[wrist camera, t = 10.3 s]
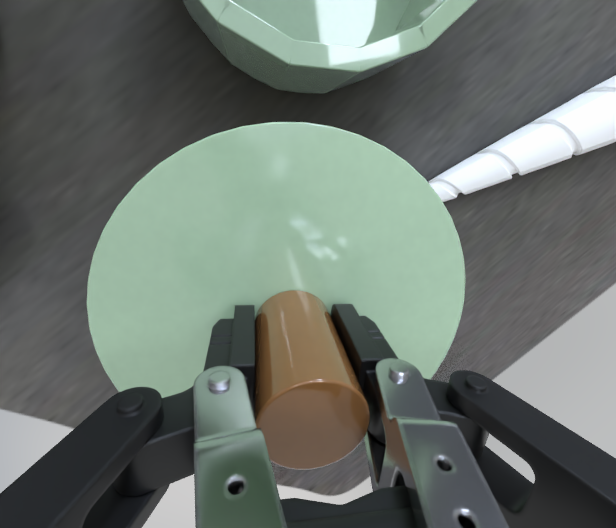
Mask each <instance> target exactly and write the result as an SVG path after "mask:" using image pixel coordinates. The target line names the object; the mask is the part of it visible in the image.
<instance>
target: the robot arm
mask: <svg viewBox="0 0 616 528" xmlns="http://www.w3.org/2000/svg"><path fill="white" fill-rule="evenodd" d="M331 318H332V321H333V323H334V325H335V328H336V330H337V332H338V335H339V337H340V339H341V342H342V344H343V346H344V349H345V351H346V353H347V356H348V358H349V361H350V363H351V365H352V368H353V370H354V372H355V375H356V377H357V379H358V382H359V384H360V386H361V389H362V391H363V393H364V396H365V398H366V400H367V403H368V405H369V409H370V423H369V427H368V430H367V433H366V435H365V437H364V439H365V445H366V452H367V458H368V464H369V470H370V477H371V483H372V489H373V492H372V493H369V494H367V495H365V496H362V497H360V498H358V499H355V500H353V501H351V502H349V503H347V504H343V505H336V504H330V503H323V502H317V501H310V500H304V499H297V498H291V499H282V500H280V497H279V494H278V490H277V485H276V482H275V478H274V474H273V470H272V466H271V462H270V458H269V454H268V450H267V446H266V442H265V438H264V435H263V432H262V429H261V428H257V427H256V423H255V418H254V392H255V311H254V305H235V311H234V318H231V319H220V320H219V321H218V322H217V323H216V324H215V325H214V326H213V328H212V333H211V337H210V342H209V347H208V352H207V356H206V361H205V366H204V370H203V372H202V373H200V374H199V375H198V376H197V377H196V379H195V381H194V384H193V386H192V387H191V388H189V389H187V390H185V391H183V392H181V393H178V394H175V395H171V396H168V397H164V398H162V397H161V395H160V393H159V392H158V391H157V390H155V389H153V388H150V387H134V388H130V389H126V390H124V391H121V392H119V393H117V394H115V395H114V396H112V397H111V398H110V399H108V400H107V401H106V402H105V403H104V404H103V405H101V406H100V407H99V408H98V409H97V410H96V411H94V412H93V413H92V414H91V415H90V416H89V417H88V418H86V419H85V420H84V421H83V422H82V423H81V424H80V425H78V426H77V427H76V428H75V429H74V430H73V431H72V432H70V433H69V434H68V435H67V436H66V437H65V438H64V439H62V440H61V441H60V442H59V443H58V444H57V445H56V446H54V447H53V448H52V449H51V450H50V451H49V452H48V453H46V454H45V455H44V456H43V457H42V458H41V459H40V460H38V461H37V462H36V463H35V464H34V465H33V466H31V467H30V468H29V469H28V470H27V471H26V472H25V473H24V474H22V475H21V476H20V477H19V478H18V479H17V480H15V481H14V482H13V483H12V484H11V485H10V486H9V487H7V488H6V489H5V490H4V491H3V492H2V493H0V528H142V526H143V525H144V524H145V522H146V521H147V519H148V518H149V516H150V515H151V513H152V512H153V510H154V509H155V507H156V506H157V504H158V503H159V501H160V499H161V498H162V497H163V495H164V494H165V492H166V491H167V489H168V487H169V484H170V483H173V482H175V481H178V480H180V479H182V478H185V477H188V476H190V475H193V474H195V475H194V477H195V517H196V518H195V519H196V528H616V458H614V457H612V456H611V455H609V454H608V453H606V452H604V451H603V450H601V449H600V448H598V447H596V446H595V445H593V444H592V443H590V442H589V441H587V440H585V439H584V438H582V437H580V436H579V435H577V434H576V433H574V432H573V431H571V430H569V429H568V428H566V427H565V426H563V425H561V424H560V423H558V422H557V421H555V420H553V419H552V418H550V417H549V416H547V415H546V414H544V413H542V412H541V411H539V410H538V409H536V408H534V407H533V406H531V405H530V404H528V403H526V402H525V401H523V400H522V399H520V398H519V397H517V396H515V395H514V394H512V393H511V392H509V391H507V390H506V389H504V388H503V387H501V386H499V385H498V384H496V383H495V382H493V381H492V380H490V379H488V378H487V377H485V376H483V375H481V374H478V373H475V372H472V371H464V370H462V371H456V372H454V373H452V375H451V376H450V380H449V383H446V382H441V381H435V380H430V379H425V378H423V377H422V374H421V373H420V371H419V370H418V369H417V368H416V367H415V366H414V365H412V364H411V363H409V362H407V361H404V360H401V359H398V357H397V356H396V354H395V353H394V351H393V350H392V348H391V347H390V345H389V343H388V342H387V340H386V339H384V336H383V334H382V333H381V332H380V330H379V328H378V327H377V325H376V323H375V322H373V321H372V320H371V319H369V318H368V317H366V316H359V314H358V313H357V311H356V309H355V308H354V306H353V304H333V305H332V309H331ZM489 433H490V434H491V435H492V436H494V437H495V438H496V439H498V440H499V441H500V442H502V443H503V444H504V445H506V446H507V447H508V448H510V449H511V450H512V451H513V452H515V453H516V454H517V455H519V456H520V457H521V458H523V459H524V460H525V461H526V462H527V463H528V464H529V465H530V466H531V468H532V470H533V472H534V474H535V483H534V484H533V483H531V482H530V481H529V480H527V479H526V478H525V477H524V476H522V475H521V474H520V473H519V472H518V471H516V470H515V469H514V468H513V467H511V466H510V465H509V464H508V463H506V462H505V461H504V460H502V459H501V458H500V457H499V456H498V455H496V454H495V453H494V452H492V451H491V450H490V449H489V448H487V447H486V446H485V444H486V441H487V438H488V435H489Z"/></svg>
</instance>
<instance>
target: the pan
mask: <svg viewBox="0 0 616 528" xmlns="http://www.w3.org/2000/svg"><path fill="white" fill-rule="evenodd" d="M476 1H477V0H183V2H184V4H185V6H186V8H187V10H188V12H189V13H190V15H191V17H192V18H193V19H194V21H195V22H196V23H197V24H198V25H199V27H200V28H201V29H202V30H203V31H204V33H205V34H206V35H207V37H208V38H209V39H210V41H211V42H212V43H213V44H214V45H215V46H216V48H217V49H218V50H219V51H220V52H221V53H222V54H223V55H224V57H225V58H226V59H227V60H228V61H229V63H231V64H232V65H234V66H236V67H238V68H239V69H241V70H242V71H244V72H245V73H247V74H248V75H250V76H251V77H253V78H255V79H257V80H259V81H261V82H263V83H265V84H267V85H269V86H271V87H273V88H275V89H277V90H286V91H292V92H298V93H320V94H324V93H328V92H331V91H333V90H336V89H339V88H342V87H345V86H347V85H350V84H352V83H355V82H358V81H360V80H363V79H366V78H368V77H370V76H372V75H374V74H376V73H378V72H380V71H382V70H384V69H386V68H388V67H390V66H392V65H394V64H396V63H398V62H400V61H402V60H404V59H406V58H408V57H410V56H412V55H414V54H416V53H418V52H420V51H422V50H424V49H425V48H427V47H428V46H430V45H431V44H432V43H433V42H434V41H435V40H436V39H437V38H438V37H439V36H440V35H441V34H442V33H443V32H444V31H445V30H446V29H448V28H449V27H450V26H451V25H452V24H453V23H454V22H455V21H456V20H457V19H458V18H459V17H460V16H461V15H462V14H463V13H465V12H466V11H467V10H468V9H469V8H470V7H471V6H472V5H473V4H474V3H475V2H476Z"/></svg>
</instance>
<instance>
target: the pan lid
mask: <svg viewBox="0 0 616 528" xmlns="http://www.w3.org/2000/svg"><path fill="white" fill-rule="evenodd" d="M464 295H465V267H464V257H463V253H462V248H461V244H460V239H459V236H458V234H457V231H456V228H455V226H454V223H453V221H452V218H451V216H450V214H449V212H448V211H447V209H446V207H445V205H444V204H443V202H442V200H441V198H440V197H439V196H438V194H437V193H436V192H435V191H434V189H433V188H432V187H431V185H430V184H429V183H428V182H427V180H426V179H425V178H424V177H423V176H422V175H421V174H420V173H419V172H417V171H416V170H415V169H414V168H413V167H412V166H411V165H410V164H409V163H408V162H407V161H405V160H404V159H402V158H401V157H399V156H398V155H396V154H395V153H393V152H392V151H390V150H389V149H387V148H386V147H384V146H382V145H380V144H378V143H376V142H374V141H372V140H370V139H368V138H365V137H363V136H361V135H359V134H355V133H352V132H349V131H346V130H342V129H339V128H336V127H332V126H326V125H319V124H313V123H306V122H269V123H261V124H254V125H247V126H241V127H238V128H234V129H231V130H227V131H224V132H220V133H217V134H213V135H211V136H208V137H206V138H204V139H202V140H200V141H197V142H195V143H193V144H191V145H188V146H186V147H184V148H183V149H181V150H179V151H178V152H176V153H175V154H173V155H172V156H170V157H168V158H167V159H165V160H164V161H162V162H161V163H159V164H158V165H157V166H156V167H154V168H153V169H152V170H151V171H150V172H149V173H148V174H146V175H145V176H144V177H143V178H142V179H141V180H140V181H138V182H137V183H136V184H135V185H134V187H133V188H132V189H131V190H130V191H129V193H128V194H127V195H126V196H125V197H124V199H123V200H122V201H121V202H120V203H119V205H118V206H117V207H116V209H115V211H114V212H113V214H112V216H111V217H110V219H109V221H108V222H107V224H106V226H105V227H104V229H103V231H102V234H101V236H100V239H99V241H98V244H97V247H96V249H95V252H94V254H93V258H92V263H91V268H90V272H89V277H88V288H87V312H88V320H89V329H90V332H91V336H92V339H93V343H94V346H95V350H96V352H97V355H98V357H99V359H100V361H101V363H102V365H103V368H104V370H105V372H106V373H107V375H108V376H109V378H110V379H111V381H112V382H113V384H114V385H115V387H116V389H117V390H118V391H119V392H121V391H124V390H126V389H130V388H134V387H150V388H153V389H155V390H157V391H158V392H159V393H160V395H161V397H162V398H164V397H168V396H171V395H175V394H178V393H181V392H183V391H185V390H187V389H189V388H191V387H192V386H193V384H194V381H195V379H196V377H197V376H198V375H199V374H200V373H202V372H203V370H204V366H205V361H206V356H207V352H208V347H209V342H210V337H211V333H212V328H213V326H214V325H215V324H216V323H217V322H218V321H219V320H220V319H231V318H234V311H235V305H254V311H255V392H254V418H255V423H256V427H257V428H261V429H262V432H263V435H264V438H265V442H266V446H267V450H268V454H269V458H270V461H272V462H274V463H275V464H277V465H280V466H283V467H286V468H291V469H314V468H319V467H324V466H327V465H330V464H332V463H334V462H337V461H339V460H340V459H342V458H344V457H345V456H347V455H348V454H350V453H351V452H352V451H353V450H354V449H355V448H356V447H357V446H358V445H359V444H360V443H361V441H362V440H363V438H364V437H365V435H366V433H367V430H368V427H369V423H370V409H369V405H368V403H367V400H366V398H365V396H364V393H363V391H362V389H361V386H360V384H359V382H358V379H357V377H356V375H355V372H354V370H353V368H352V365H351V363H350V361H349V358H348V356H347V353H346V351H345V349H344V346H343V344H342V342H341V339H340V337H339V335H338V332H337V330H336V328H335V325H334V323H333V321H332V318H331V309H332V305H333V304H353V306H354V308H355V309H356V311H357V313H358V314H359V316H366V317H368V318H369V319H371V320H372V321H373V322H375V323H376V325H377V327H378V328H379V330H380V332H381V333H382V334H383V336H384V339H386V340H387V342H388V343H389V345H390V347H391V348H392V350H393V351H394V353H395V354H396V356H397V357H398V359H401V360H404V361H407V362H409V363H411V364H412V365H414V366H415V367H416V368H417V369H418V370H419V371H420V373H421V374H422V377H423V378H425V379H431V378H432V376H433V375H434V374H435V372H436V371H437V369H438V368H439V366H440V364H441V363H442V361H443V360H444V358H445V356H446V354H447V352H448V350H449V348H450V346H451V344H452V342H453V339H454V337H455V334H456V331H457V328H458V325H459V322H460V318H461V313H462V308H463V303H464Z"/></svg>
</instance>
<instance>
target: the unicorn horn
mask: <svg viewBox="0 0 616 528" xmlns="http://www.w3.org/2000/svg"><path fill="white" fill-rule="evenodd" d="M614 142H616V75H615V76H613V77H611V78H610V79H608V80H606V81H604V82H602V83H600V84H598V85H596V86H594V87H593V88H591V89H589V90H587V91H586V92H584V93H583V94H580V95H578V96H577V97H575V98H573V99H572V100H570V101H568V102H567V103H565V104H563V105H561V106H560V107H558V108H556V109H554V110H552V111H551V112H549V113H547V114H545V115H543V116H542V117H540V118H538V119H536V120H534V121H533V122H531V123H529V124H527V125H525V126H524V127H522V128H520V129H518V130H516V131H515V132H513V133H511V134H509V135H507V136H506V137H504V138H502V139H500V140H499V141H497V142H495V143H493V144H492V145H490V146H488V147H486V148H485V149H483V150H481V151H479V152H478V153H476V154H475V155H473V156H471V157H469V158H467V159H465V160H464V161H462V162H460V163H459V164H457V165H455V166H454V167H452V168H450V169H448V170H447V171H445V172H443V173H442V174H440V175H438V176H437V177H435V178H433V179H432V180H430V181H428V183H429V184H430V185H431V187H432V188H433V189H434V191H435V192H436V193H437V194H438V196H439V197H440V198H441V200H442V202H445V201H448V200H451V199H454V198H456V197H457V195H458V193H460V192H462V193H463V194H465V195H466V194H469V193H472V192H475V191H478V190H480V189H483V188H486V187H489V186H492V185H495V184H498V183H500V182H503V181H506V180H509V179H512V174H515V173H519V175H524V174H527V173H530V172H532V171H535V170H538V169H541V168H544V167H547V166H549V165H552V164H555V163H558V162H561V161H563V160H566V159H569V158H571V156H572V154H574V155H580V154H583V153H586V152H589V151H591V150H594V149H597V148H600V147H603V146H606V145H608V144H611V143H614Z"/></svg>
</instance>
